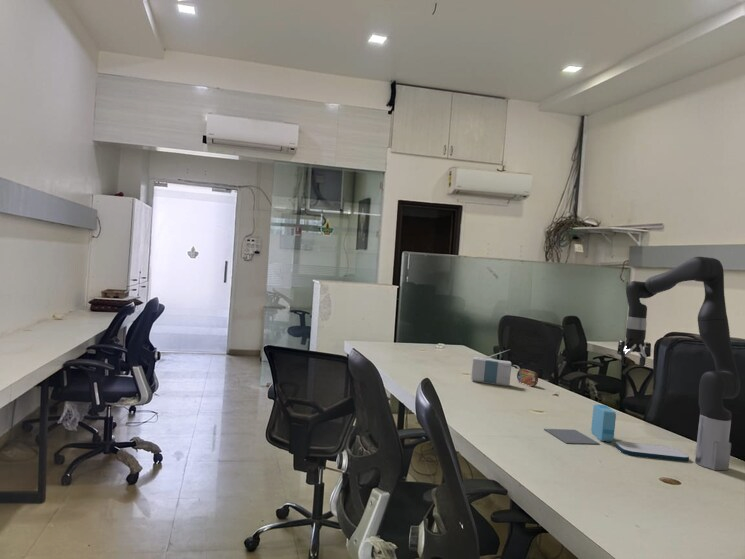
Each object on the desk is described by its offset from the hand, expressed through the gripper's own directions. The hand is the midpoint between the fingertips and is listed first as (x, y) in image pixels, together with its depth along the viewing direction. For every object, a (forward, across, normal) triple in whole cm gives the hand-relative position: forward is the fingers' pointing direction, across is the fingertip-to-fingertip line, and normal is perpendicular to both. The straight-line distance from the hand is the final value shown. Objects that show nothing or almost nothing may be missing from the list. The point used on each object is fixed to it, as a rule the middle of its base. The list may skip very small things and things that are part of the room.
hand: (632, 365), depth 222 cm
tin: (+26, -6, +78) cm, 82 cm away
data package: (+27, -22, -14) cm, 37 cm away
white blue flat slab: (+28, -12, -29) cm, 43 cm away
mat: (+27, -35, -14) cm, 46 cm away
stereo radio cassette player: (+26, -30, +76) cm, 86 cm away
